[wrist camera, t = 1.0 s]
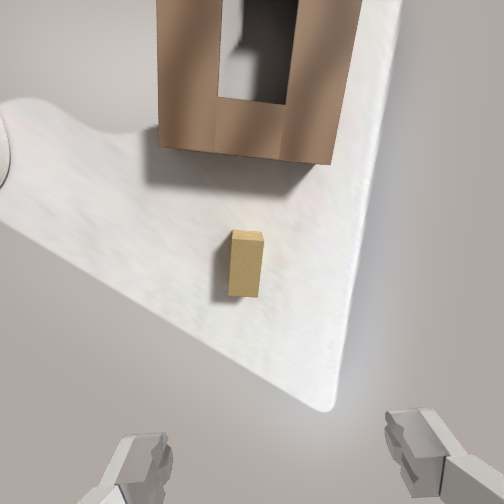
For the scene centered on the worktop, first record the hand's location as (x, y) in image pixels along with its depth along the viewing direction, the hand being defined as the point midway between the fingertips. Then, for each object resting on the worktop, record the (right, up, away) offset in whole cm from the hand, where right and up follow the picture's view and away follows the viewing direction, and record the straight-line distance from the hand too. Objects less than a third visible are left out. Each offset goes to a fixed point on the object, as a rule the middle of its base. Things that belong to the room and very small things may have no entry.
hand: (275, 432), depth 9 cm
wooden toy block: (-2, +6, +23) cm, 24 cm away
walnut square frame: (-1, +26, +16) cm, 30 cm away
